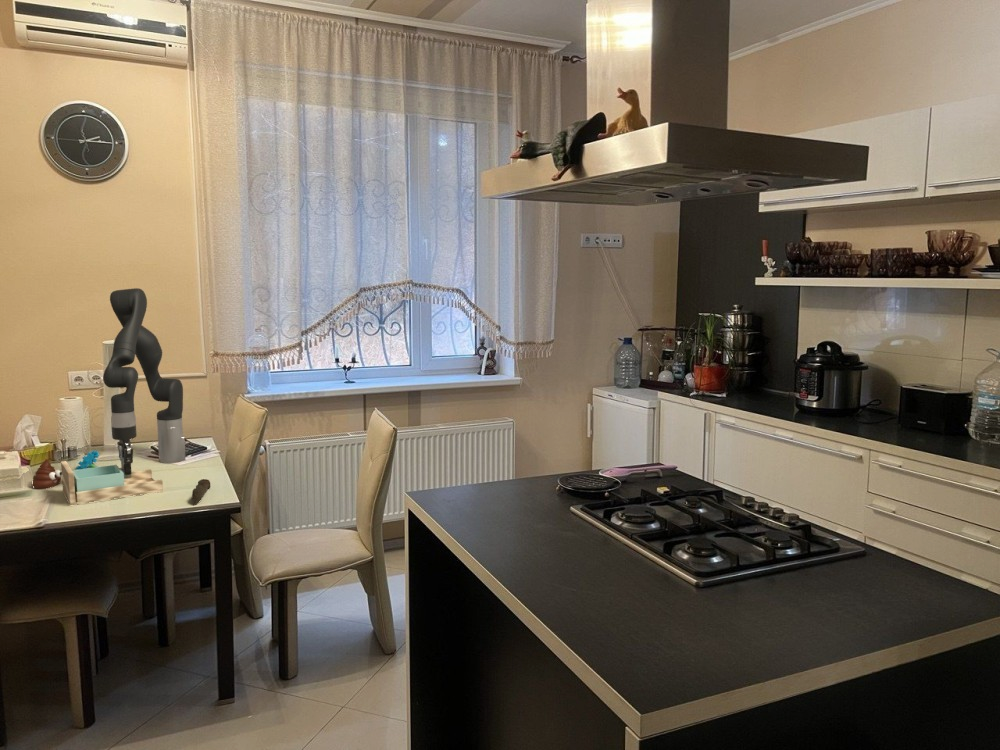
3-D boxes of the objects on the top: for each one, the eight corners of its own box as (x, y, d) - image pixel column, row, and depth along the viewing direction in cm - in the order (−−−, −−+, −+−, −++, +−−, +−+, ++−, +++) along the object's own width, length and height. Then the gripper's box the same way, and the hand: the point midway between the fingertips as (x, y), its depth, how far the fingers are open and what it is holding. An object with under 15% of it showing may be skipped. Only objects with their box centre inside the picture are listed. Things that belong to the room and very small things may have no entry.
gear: (71, 466, 283) (91, 445, 286) (84, 474, 287) (104, 454, 290) (79, 476, 276) (100, 455, 279) (92, 484, 279) (112, 463, 282)
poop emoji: (43, 481, 269) (41, 456, 268) (67, 481, 269) (65, 456, 268) (26, 489, 259) (24, 463, 258) (50, 490, 259) (48, 463, 258)
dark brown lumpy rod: (198, 489, 262) (198, 477, 261) (210, 489, 263) (210, 476, 262) (185, 506, 243) (185, 493, 243) (198, 506, 244) (198, 492, 243)
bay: (151, 479, 272) (149, 450, 271) (163, 491, 258) (161, 460, 256) (63, 492, 256) (60, 461, 254) (70, 506, 241) (68, 473, 240)
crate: (128, 481, 265) (126, 453, 264) (136, 490, 255) (134, 461, 254) (72, 489, 255) (70, 460, 253) (78, 499, 245) (75, 469, 243)
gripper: (140, 426, 253) (142, 476, 255) (131, 419, 264) (134, 467, 266) (115, 429, 248) (118, 479, 251) (107, 422, 260) (110, 470, 262)
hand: (126, 472), depth 259 cm, fingers open, 3 cm apart
